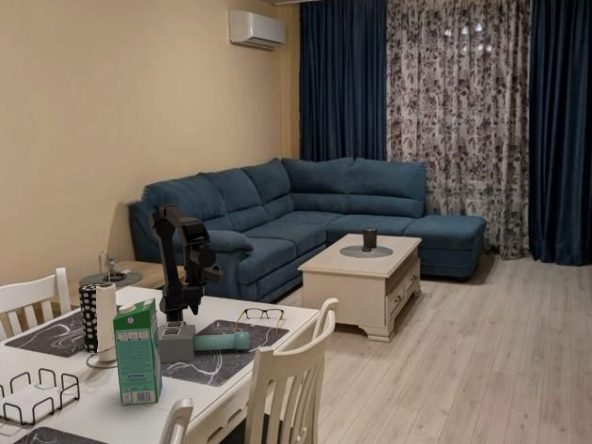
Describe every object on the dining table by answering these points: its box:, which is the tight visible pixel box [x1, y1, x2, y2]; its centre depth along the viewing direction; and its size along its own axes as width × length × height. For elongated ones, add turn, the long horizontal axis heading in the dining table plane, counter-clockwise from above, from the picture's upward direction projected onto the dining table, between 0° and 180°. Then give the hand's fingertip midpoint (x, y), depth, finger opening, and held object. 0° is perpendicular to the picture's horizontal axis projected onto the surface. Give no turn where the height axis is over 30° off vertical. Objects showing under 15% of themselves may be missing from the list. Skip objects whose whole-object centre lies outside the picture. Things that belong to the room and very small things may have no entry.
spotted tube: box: [78, 282, 105, 354], centre depth 177 cm, size 8×8×20 cm
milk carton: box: [112, 297, 163, 406], centre depth 145 cm, size 9×9×25 cm
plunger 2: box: [166, 328, 177, 335], centre depth 167 cm, size 3×3×2 cm
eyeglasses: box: [234, 307, 285, 335], centre depth 193 cm, size 14×14×4 cm
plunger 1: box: [169, 321, 180, 327], centre depth 173 cm, size 3×3×2 cm
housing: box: [158, 320, 197, 364], centre depth 171 cm, size 11×12×8 cm
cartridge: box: [193, 331, 250, 352], centre depth 172 cm, size 20×5×5 cm, turn 94°
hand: (197, 309), depth 175 cm, fingers open, 9 cm apart
